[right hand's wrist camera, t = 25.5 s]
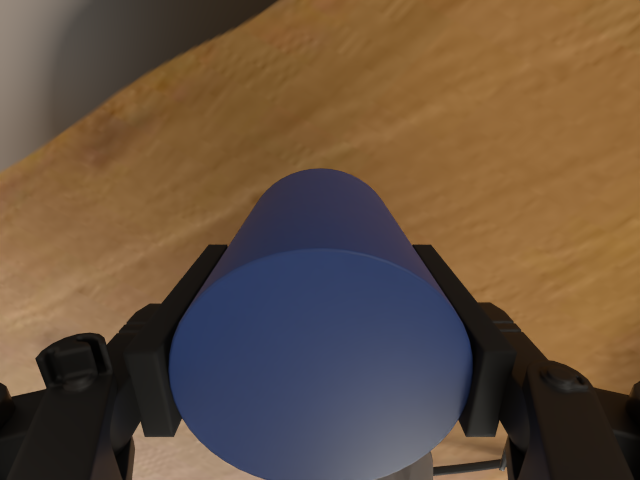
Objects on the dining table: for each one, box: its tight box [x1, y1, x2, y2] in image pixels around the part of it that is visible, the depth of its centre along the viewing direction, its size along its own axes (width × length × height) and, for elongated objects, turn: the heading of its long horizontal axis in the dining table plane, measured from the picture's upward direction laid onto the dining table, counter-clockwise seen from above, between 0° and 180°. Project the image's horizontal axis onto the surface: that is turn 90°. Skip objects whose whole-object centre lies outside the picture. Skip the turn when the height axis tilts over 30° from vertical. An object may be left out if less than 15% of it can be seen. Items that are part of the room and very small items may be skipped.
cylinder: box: [168, 169, 473, 480], centre depth 13 cm, size 8×8×10 cm
